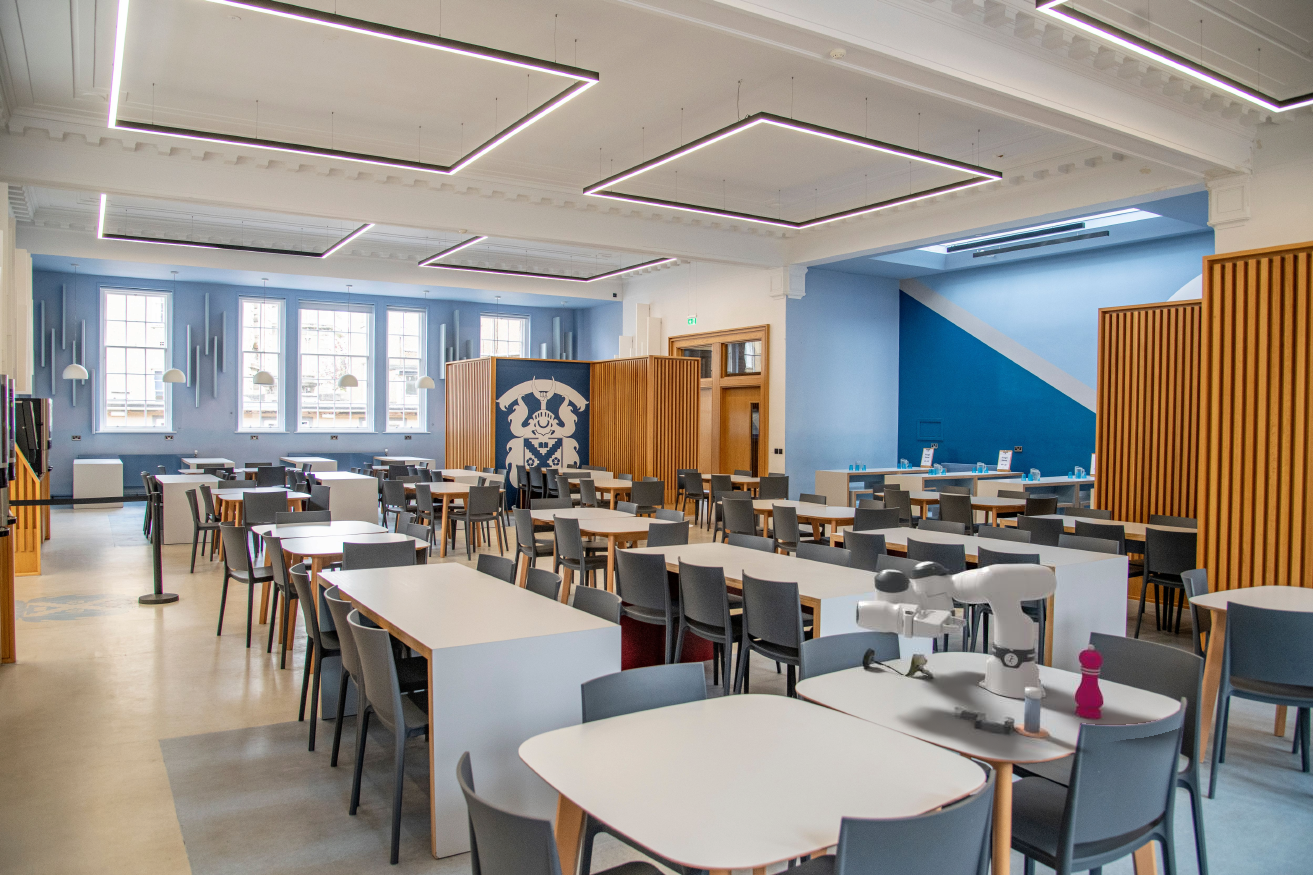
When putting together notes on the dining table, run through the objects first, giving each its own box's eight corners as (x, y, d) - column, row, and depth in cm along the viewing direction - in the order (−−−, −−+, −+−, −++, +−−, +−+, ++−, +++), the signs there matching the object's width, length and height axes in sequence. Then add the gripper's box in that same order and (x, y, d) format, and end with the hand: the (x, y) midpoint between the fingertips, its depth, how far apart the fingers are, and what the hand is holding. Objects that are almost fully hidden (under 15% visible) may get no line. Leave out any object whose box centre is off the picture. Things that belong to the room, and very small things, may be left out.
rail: (954, 714, 228) (955, 705, 228) (1015, 726, 220) (1015, 717, 220) (949, 723, 221) (950, 714, 221) (1011, 735, 213) (1011, 726, 213)
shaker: (1024, 726, 219) (1025, 685, 219) (1040, 729, 217) (1042, 688, 217) (1022, 731, 215) (1024, 689, 215) (1039, 734, 213) (1040, 692, 213)
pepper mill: (1106, 720, 226) (1109, 648, 226) (1078, 718, 228) (1081, 646, 228) (1098, 711, 234) (1100, 642, 233) (1070, 709, 235) (1073, 640, 235)
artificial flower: (868, 667, 275) (876, 638, 276) (934, 690, 261) (942, 660, 262) (859, 666, 268) (867, 636, 269) (926, 689, 254) (934, 658, 256)
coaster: (1016, 724, 222) (1017, 722, 221) (1049, 730, 218) (1049, 729, 218) (1013, 733, 215) (1013, 731, 215) (1047, 740, 211) (1047, 738, 211)
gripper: (919, 623, 242) (969, 630, 235) (903, 638, 224) (956, 645, 218) (919, 602, 242) (969, 608, 235) (904, 615, 224) (957, 622, 217)
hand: (963, 626), depth 226 cm, fingers open, 8 cm apart
